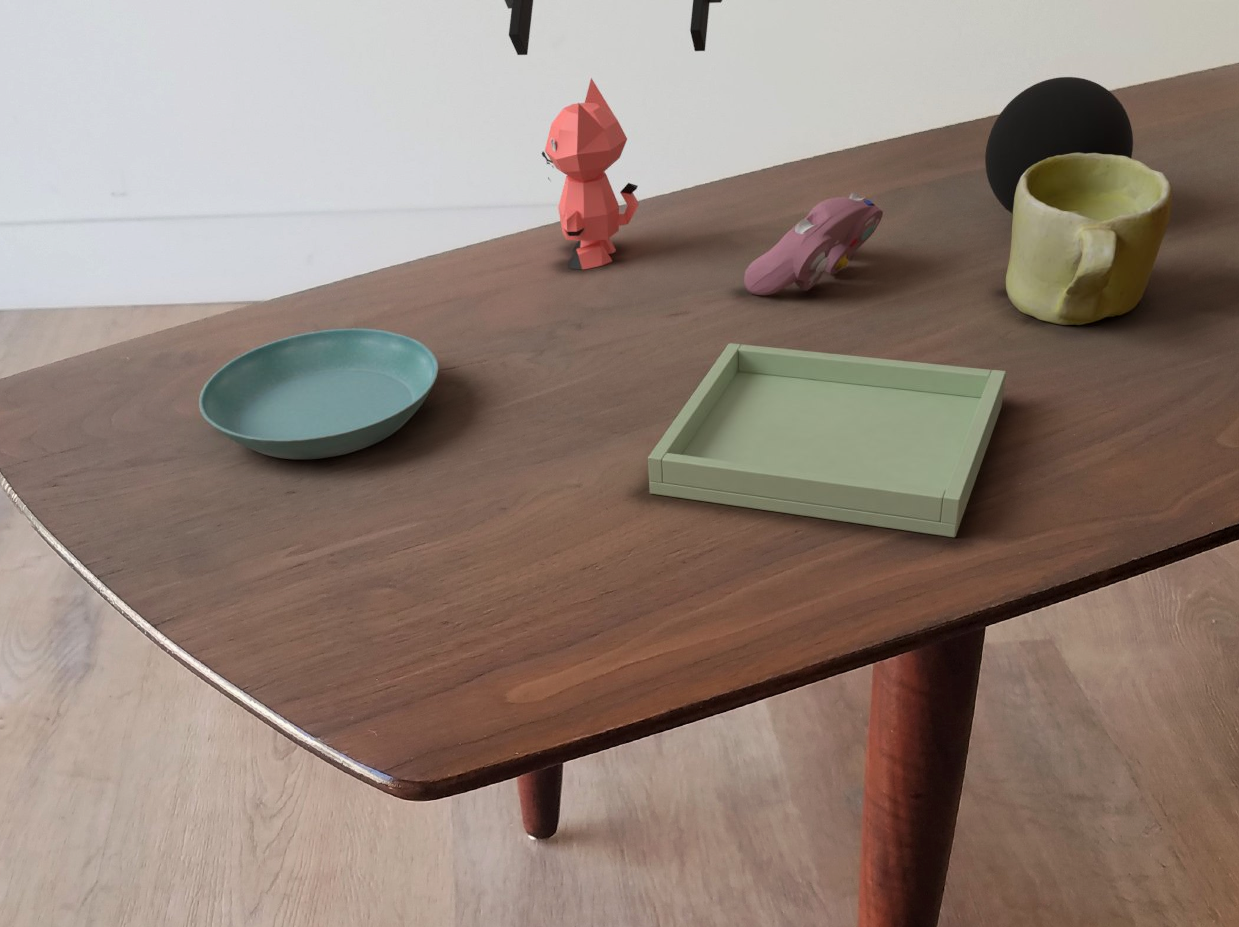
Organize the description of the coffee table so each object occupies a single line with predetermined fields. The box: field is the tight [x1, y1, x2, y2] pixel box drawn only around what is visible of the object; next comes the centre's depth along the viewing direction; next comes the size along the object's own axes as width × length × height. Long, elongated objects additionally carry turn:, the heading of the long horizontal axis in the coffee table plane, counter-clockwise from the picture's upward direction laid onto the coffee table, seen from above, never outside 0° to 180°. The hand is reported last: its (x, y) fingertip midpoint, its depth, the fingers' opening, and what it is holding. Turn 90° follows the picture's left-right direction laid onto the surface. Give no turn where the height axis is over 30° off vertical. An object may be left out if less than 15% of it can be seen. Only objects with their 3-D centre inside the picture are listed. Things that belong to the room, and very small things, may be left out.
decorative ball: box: [984, 76, 1134, 215], centre depth 99 cm, size 10×10×10 cm
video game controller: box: [743, 191, 884, 296], centre depth 95 cm, size 10×5×7 cm, turn 137°
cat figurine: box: [541, 77, 640, 271], centre depth 100 cm, size 7×7×12 cm
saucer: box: [198, 327, 439, 460], centre depth 85 cm, size 15×15×3 cm
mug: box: [1005, 153, 1173, 326], centre depth 88 cm, size 12×10×10 cm
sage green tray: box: [647, 342, 1007, 538], centre depth 77 cm, size 17×15×2 cm
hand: (606, 43), depth 102 cm, fingers open, 13 cm apart
